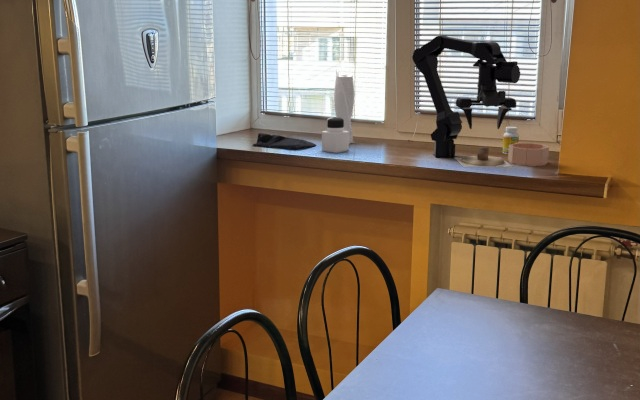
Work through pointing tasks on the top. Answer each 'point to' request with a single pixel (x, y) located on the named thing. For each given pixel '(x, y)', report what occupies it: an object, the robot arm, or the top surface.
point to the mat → (483, 166)
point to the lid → (482, 158)
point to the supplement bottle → (509, 138)
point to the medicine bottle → (335, 136)
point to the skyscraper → (344, 100)
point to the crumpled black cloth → (281, 142)
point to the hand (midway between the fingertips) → (484, 128)
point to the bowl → (528, 154)
